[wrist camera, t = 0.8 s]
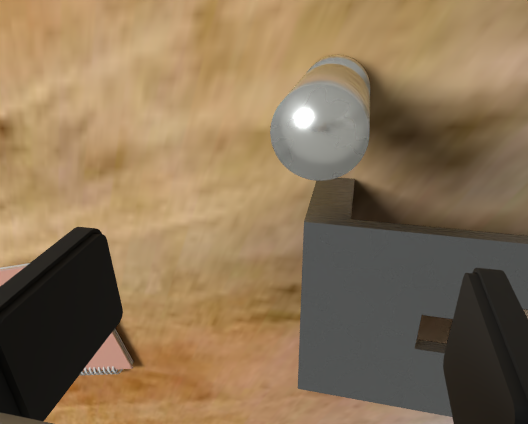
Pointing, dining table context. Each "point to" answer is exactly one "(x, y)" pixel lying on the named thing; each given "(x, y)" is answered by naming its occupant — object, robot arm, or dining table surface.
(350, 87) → the peg
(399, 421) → the dining table surface
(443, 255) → the grey windowed bracket
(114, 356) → the notebook
